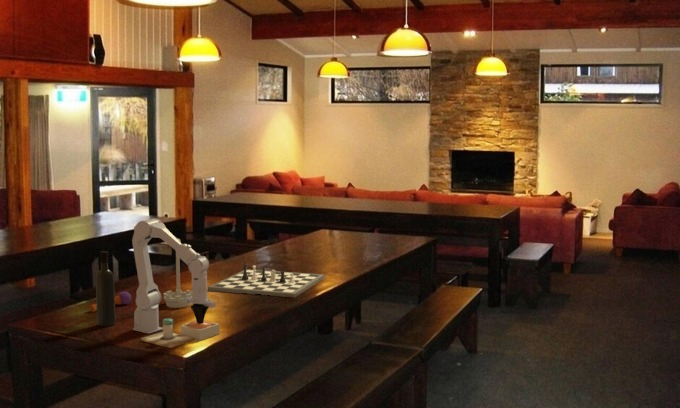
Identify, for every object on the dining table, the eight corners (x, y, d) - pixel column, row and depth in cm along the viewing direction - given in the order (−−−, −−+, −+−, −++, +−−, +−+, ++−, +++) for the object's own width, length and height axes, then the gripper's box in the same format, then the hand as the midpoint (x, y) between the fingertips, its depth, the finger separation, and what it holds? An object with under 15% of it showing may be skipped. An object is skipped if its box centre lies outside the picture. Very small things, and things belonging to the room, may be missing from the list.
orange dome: (184, 332, 284) (184, 323, 284) (200, 327, 291) (200, 318, 291) (200, 336, 279) (200, 327, 279) (215, 331, 286) (215, 322, 286)
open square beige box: (180, 335, 284) (180, 325, 284) (200, 329, 292) (200, 319, 292) (200, 340, 278) (200, 330, 278) (219, 334, 287) (219, 324, 286)
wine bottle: (108, 322, 303) (106, 249, 299) (116, 324, 299) (114, 251, 296) (96, 325, 298) (93, 251, 295) (104, 327, 295) (101, 253, 291)
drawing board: (141, 340, 278) (140, 338, 278) (165, 332, 288) (165, 330, 288) (170, 348, 269) (170, 345, 269) (194, 340, 279) (194, 337, 279)
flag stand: (186, 308, 324) (185, 241, 321) (158, 307, 327) (157, 240, 323) (198, 301, 337) (196, 236, 333) (171, 300, 340) (169, 235, 336)
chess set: (207, 292, 359) (207, 269, 357) (245, 273, 401) (245, 253, 400) (294, 299, 346) (294, 275, 344) (324, 279, 388) (324, 257, 387)
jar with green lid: (160, 338, 278) (160, 320, 277) (168, 335, 281) (167, 317, 280) (167, 339, 276) (167, 321, 275) (175, 337, 279) (174, 319, 278)
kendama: (86, 302, 320) (124, 290, 336) (89, 315, 320) (126, 302, 336) (94, 301, 316) (132, 289, 332) (97, 315, 317) (135, 302, 333)
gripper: (178, 287, 284) (179, 322, 286) (205, 293, 276) (206, 328, 277) (191, 284, 290) (192, 318, 291) (218, 289, 282) (219, 324, 283)
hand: (200, 323), depth 285 cm, fingers closed, pressing on orange dome
